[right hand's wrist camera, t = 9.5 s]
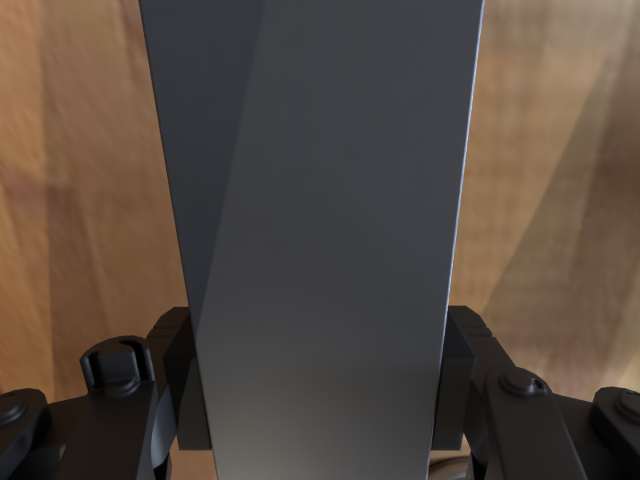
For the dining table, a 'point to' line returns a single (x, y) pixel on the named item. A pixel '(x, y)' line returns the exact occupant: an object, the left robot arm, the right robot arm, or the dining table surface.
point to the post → (316, 220)
